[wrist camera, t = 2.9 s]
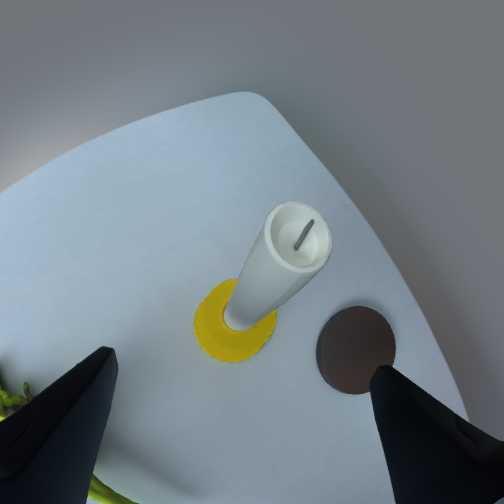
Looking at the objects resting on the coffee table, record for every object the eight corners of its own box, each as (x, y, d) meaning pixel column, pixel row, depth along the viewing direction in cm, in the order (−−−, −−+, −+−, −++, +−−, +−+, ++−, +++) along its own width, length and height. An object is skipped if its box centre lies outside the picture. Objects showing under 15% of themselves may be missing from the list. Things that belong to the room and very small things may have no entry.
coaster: (400, 364, 20) (406, 364, 19) (337, 409, 18) (342, 411, 17) (369, 294, 22) (374, 291, 21) (301, 331, 20) (304, 330, 19)
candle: (282, 326, 19) (450, 238, 5) (230, 377, 18) (319, 444, 3) (232, 275, 20) (292, 93, 6) (178, 323, 18) (97, 206, 4)
